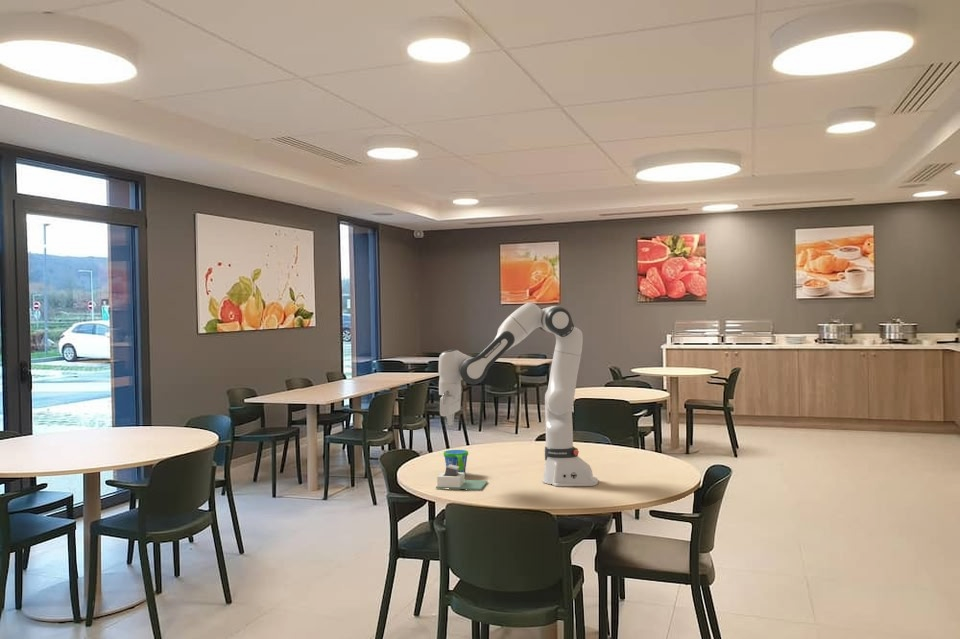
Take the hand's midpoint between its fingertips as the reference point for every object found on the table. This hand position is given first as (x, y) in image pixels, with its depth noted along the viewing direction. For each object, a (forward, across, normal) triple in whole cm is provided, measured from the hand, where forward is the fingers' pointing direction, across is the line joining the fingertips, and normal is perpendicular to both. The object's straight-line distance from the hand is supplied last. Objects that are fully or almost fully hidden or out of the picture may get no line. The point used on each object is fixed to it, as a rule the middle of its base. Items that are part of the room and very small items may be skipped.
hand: (450, 424), depth 272 cm
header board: (+25, +2, -4) cm, 25 cm away
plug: (+23, 0, +1) cm, 23 cm away
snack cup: (+25, +21, +3) cm, 33 cm away
